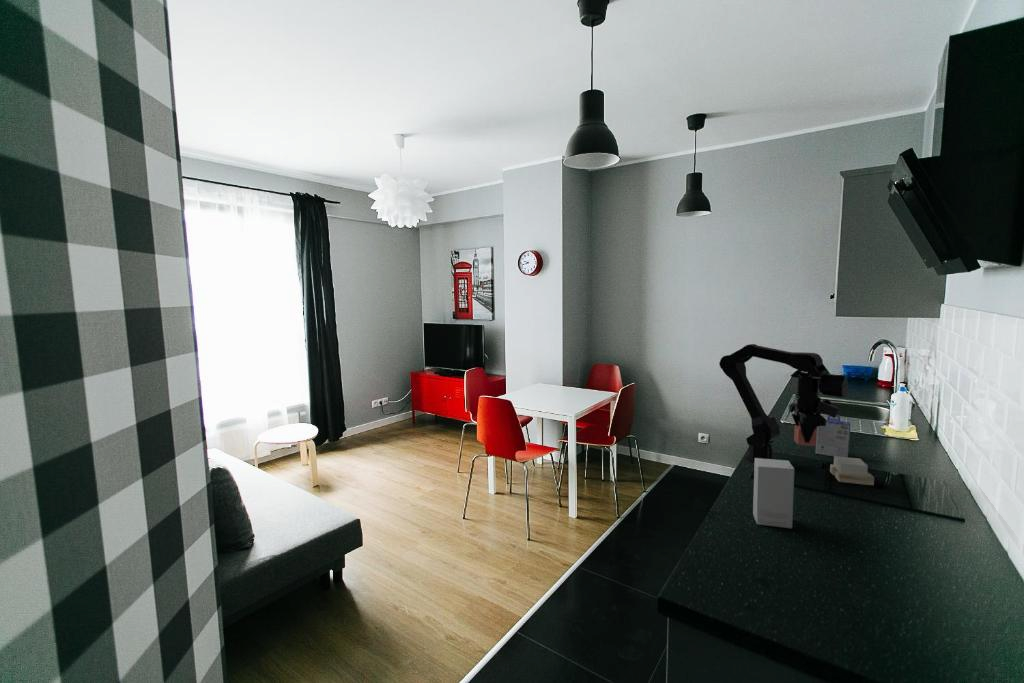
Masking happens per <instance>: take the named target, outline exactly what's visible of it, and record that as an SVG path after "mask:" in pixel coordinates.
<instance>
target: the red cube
mask: <svg viewBox="0 0 1024 683" xmlns="http://www.w3.org/2000/svg"><path fill="white" fill-rule="evenodd" d="M816 437H817V429H815V430H814V432H813V435H812V437H811V439H810V442H809V443H806V442H805V440H804V438H803V435H802V432H801V429H800V426H797V425H796V424H794V433H793V441H794V442H795V443H796V445H797V446H807V447H808V446H809V447H810V446H811V447H816Z"/></svg>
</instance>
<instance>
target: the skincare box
mask: <svg viewBox="0 0 1024 683" xmlns="http://www.w3.org/2000/svg"><path fill="white" fill-rule="evenodd" d="M753 466H754V468H753V469H754V470H753V471H754V472H753V473H754V474H753V477H754V478H753V499H752V500H753V501H752V504H753V505H752V514H753V518H754V520H755V522H756V525H760V526H768V527H775V528H776V527H777V528H784V529H785V528H786V529H793V518H794V517H793V515H794V510H793V509H794V492H795V491H794V489H795V488H794V487H795V486H794V485H795V471H796V470H795V467H794V466H793V465H792V464H791V462H790V461H789V460H785V459H773V458H772V459H761V458H755V463H753Z"/></svg>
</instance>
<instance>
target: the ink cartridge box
mask: <svg viewBox="0 0 1024 683" xmlns="http://www.w3.org/2000/svg"><path fill="white" fill-rule="evenodd" d="M816 431H817V437H816V446H815V452H814V453H815V454H816V455H817V454H818V455H823V456H830V457H834V456H838V457H848V458H849V449H850V439H851V423H850V422H848V421H843V420H842V421H841V415H840V414H837V415H836V417H835V418H833V417H831V416H830V415H827V419H826V426H818V427H817V428H816Z"/></svg>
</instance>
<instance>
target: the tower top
mask: <svg viewBox="0 0 1024 683" xmlns="http://www.w3.org/2000/svg"><path fill="white" fill-rule="evenodd" d="M833 464H834V466H835V467H836V468H837V470H838V471H839V472H840V473H848V474H857V475H867V471H868V468H869V467H868V464H867V463H866V462H864V461H863V460H862V459H861V458H857V457H856V458H855V457H849V456H848V457H838V456H833Z"/></svg>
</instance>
